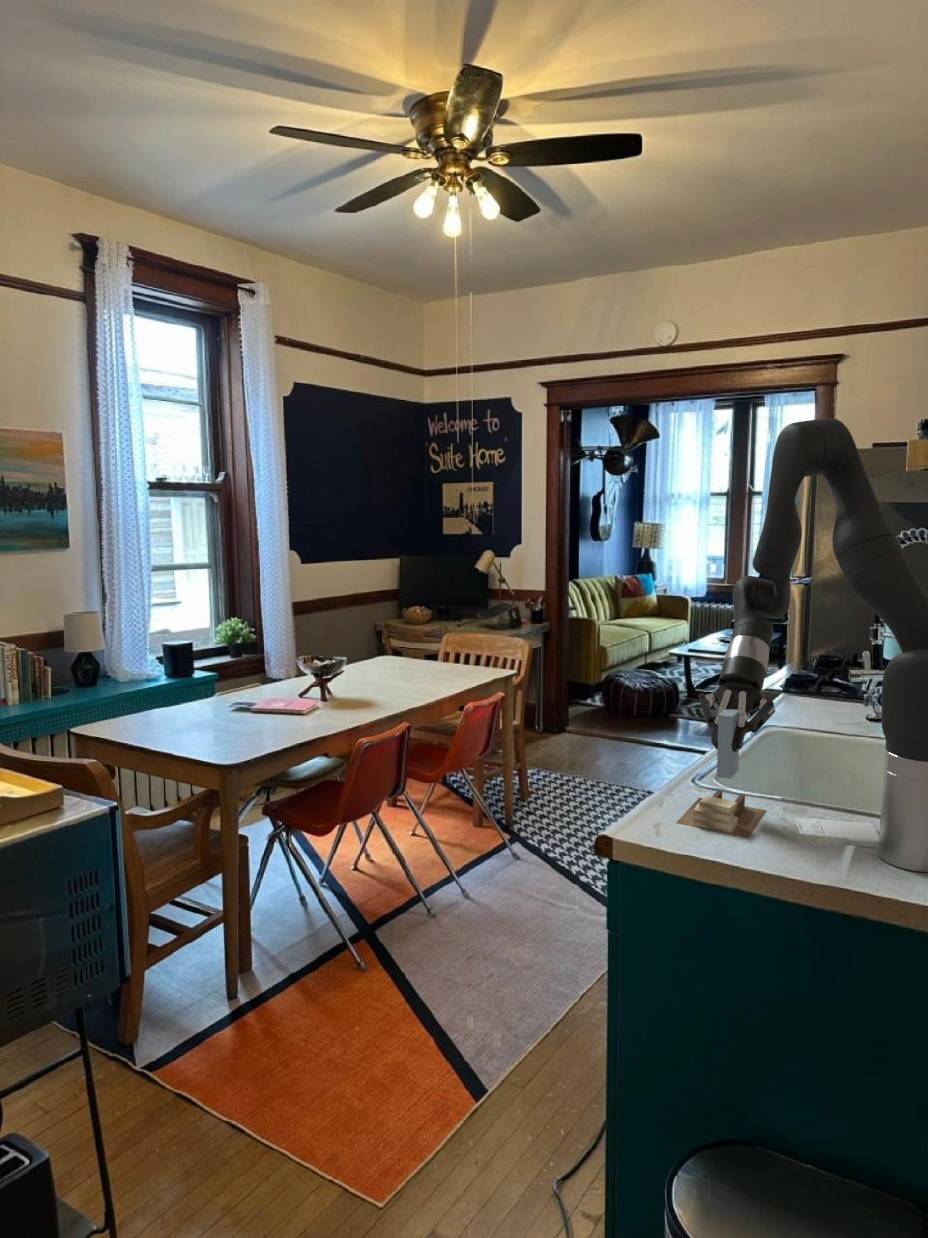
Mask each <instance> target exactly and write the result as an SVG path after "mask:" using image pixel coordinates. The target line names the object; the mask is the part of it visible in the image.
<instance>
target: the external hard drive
mask: <svg viewBox="0 0 928 1238" xmlns="http://www.w3.org/2000/svg"><path fill="white" fill-rule="evenodd" d="M793 818H794V820H795V823H796V825H797V828H798V831H799V833H800V835H809V836H819V837H828V838H839V839H848V840H847V844H846V845H847V846H856V847H867V848H876V849H878V840H879V833H878V831H877V829H876V828H875V827H874V825H873V823H867V822H855V821H844V820H841V821H840V820H833V819H832V820H831V819H830V820H829V819H820V818H804V817H796V816H794V817H793ZM800 825H801V826H800Z"/></svg>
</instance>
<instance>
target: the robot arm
mask: <svg viewBox="0 0 928 1238" xmlns="http://www.w3.org/2000/svg"><path fill="white" fill-rule="evenodd" d="M818 475H823V477H824V478H825V480H826V482H827V483H828V486H829V488H830V491H831V493H832V495H833V497H834V501H835V506H836V507H835V508H836V510H835V519H834V524H833V531H832V532H833V533H832V551H833V554H834V556H835V559H836V562H837V563H838V566H839V567H840V569H841V572H842V573H843V576H844V578H845V580H846V583H847V584H848V586H849V587H850V588H851V590H852V591H853V592H854V594H856V595H857V597H858V598H859V599H860V601H862V602H863V603H864V604H865V605H866V606H867V607H868V608H869V609H870V610H872V612H874V614H876V615H877V616H878V617H879V618H880V620H881V621H882V622H884V623H885V625H886V626H887V627H888V629H889V630H890V631H891V633H892V635H893V636H894V638H895V640H896V642H897V644H898V646H899V649H900V651H901V653H898V654H897V655H895V656H893V657H892V659H890V661H889V662H888V664H887V665H886V667H885V669H884V673H883V677H882V684H881V685H882V687H881V715H880V716H881V719H880V720H881V729H882V732H883V735H884V738H885V751H884V763H883V765H884V766H883V776H882V777H883V778H882V790H881V791H882V792H881V793H882V794H881V805H880V817H879V819H880V820H879V833H878V834H879V840H878V848H877V851H878V852H877V854H878V856H879V858H880V859H881V860H883V861H884V862H886V863H888V864H890V865H892V866H895V867H898V868H900V869H904V870H907V871H913V872H921V873H922V872H924V873H928V598H927V596H926V593H925V592H924V589H923V588H922V586H921V584H920V583H919V580H918V578H917V576H916V574H915V573H914V570H913V568H912V567H911V565H910V562H909V560H908V558H907V556H906V553H905V551H904V549H903V546H902V545H901V543H900V541H899V539H898V538H897V535H896V534H895V532H894V530H893V528H892V526H891V525H890V523H889V521H888V519H887V517H886V515H885V513H884V511H883V509H882V507H881V505H880V502H879V500H878V498H877V496H876V494H875V492H874V489H873V487H872V485H871V483H870V480H869V478H868V476H867V472H866V470H865V467H864V464H863V461H862V458H861V456H860V452H859V450H858V447H857V445H856V442H855V441H854V437H853V435H852V434H851V432H850V430H849V428H848V427H847V426H846V424H844V423H843V422H842V421H841V420H839V419H837V418H832V417H825V418H824V417H823V418H818V419H810V420H802V421H795V422H792V423H789V424H787V425H786V426H784V428H783V429H782V430H781V431H780V432H779V434H778V435H777V439H776V442H775V445H774V450H773V455H772V462H771V470H770V478H769V485H768V491H767V492H768V494H767V495H768V496H767V502H766V510H765V511H766V512H765V517H764V521H763V526H762V530H761V533H760V536H759V539H758V543H757V545H756V549H755V551H754V554H753V555H754V556H753V560H752V567H753V570H754V571H755V572H757V574H759V575H761V576H762V577H764V578H761V577H760V578H759V577H757V576H752V575H744V576H742V577H741V578H739V579H738V580H737V581H736V583H734V585H733V588H732V606H733V612H734V613H733V614H734V617H733V618H734V623H733V629H732V633H731V637H730V640H729V641H730V642H729V645H728V647H727V648H726V652H725V655H724V659H723V663H722V667H721V671H720V675H719V679H718V683H717V686H716V688H714V689H713V691H712V693H709V694H705V693H704V692H700V693H699V694H698V696H697V697H698V699H699V703H700V706H701V708H702V712H703V716H704V719H705V721H706V725H707V727H709V728H713V729H712V734H711V738H710V740H711V744H712V746H714V749H715V750H718V715H719V714H720V713H721V712H722V711H723V710H726V709H735V710H738V723H737V725H738V726H737V728H735V733H734V737H733V741H732V744H731V747H732V750H733V751H734V752H737V751H738V749H739V750H741V749H742V748H743V745H744V741H745V736H746V734H747V733H753V734H756V733H757V732H758V731H759V730H760V729H761V728H762V727H763V726H764V725H765V724H766V722H768V721H769V719H770V718H771V717H772V716H774V714H775V712H776V707H775V703H774V701H773V700H771V699H770V700H766V699H765V698H764V697H763V694H762V692H763V687H764V682H765V679H766V678H765V677H766V675H767V674H766V673H767V672H768V667H769V660H770V659H769V658H770V655H769V654H770V650H771V649H770V648H771V644H772V639H773V636H774V626H773V623H772V622H771V621H770V619H773V620H776V619H781V618H782V617H783V616H785V614H786V613H787V612H788V610H789V609H790V605H791V574H792V570H793V567H794V564H795V561H796V557H797V554H798V552H799V549H800V545H801V543H802V536H803V532H802V530H803V529H802V524H801V520H800V517H799V513H798V509H797V502H796V501H797V495H798V491H799V488H800V487H801V484H802V482H803V480H804V479H805V477H811V476H813V477H814V476H818ZM765 578H766V579H765ZM714 701H715V702H716V704H717V706H718V709H717V715H716V716H715V717H714V716H713V715H712V711H711V709H710V708H711V707H712V706H713V702H714ZM757 708H759V709H758V711H757V712H756V713H755V714H754V715H753V717H752V718H751V719H749V714H751V713H752V712H753V711H754V710H756V709H757Z"/></svg>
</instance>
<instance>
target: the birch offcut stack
mask: <svg viewBox="0 0 928 1238" xmlns="http://www.w3.org/2000/svg"><path fill="white" fill-rule="evenodd" d="M702 798H703V799H702V800H700V801H699V803H698V804H697V805H696V807H695V809H694V810H693V825H694V826H699V827H703V828H708V829H713V830H718V831H723V832H728V833H732V832H733V831H734V829H735V828H736V826H737V823H738V817H734V812H735V811H736V810H737V802H735V801H733V800H729V799H724V798H722V799H720V798H716V797H712V796H710V795H706V796H704V797H702Z"/></svg>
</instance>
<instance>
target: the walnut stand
mask: <svg viewBox="0 0 928 1238" xmlns="http://www.w3.org/2000/svg"><path fill="white" fill-rule="evenodd" d="M711 797H716V798H720V799H723V790H718V789H717V790H716V791H715V792H714V793H713V795H712V796H711ZM703 798H704V797H698V798H697V799H696V801H695V802H694V803H693V804H691V806H690V807H689V808H688V809H687V810H686V811H685V812H684V814H682V816H680V818H679V819H678V820H677V821H676V822H675V823H676V824H678V825H679V824H680V825H684V826H689V827H692V828H693V827H694V828H698V829H702V830H709V831H713V832H717V833H723V834H728V835H731V836H732V835H733V836H737V837H740V838H741V837H742V838H745V839H749V838H750V836H751V835H752V834H753V832H754V831H755V829H756V827H757V826H758V825H759V823H760V822H761V820H762V818H763V817H764V816H765V814H766V812H767V809H762V808H756V807H750V806H746V805H745V803H746V794H742V793H740V794H739V795H738V797H737V798H736V799H735V801H734V802H737V810H736V811H735V812H734V817H738V823H737V826H736V828H735V829H734V831H733V832H732V833H728V832H723V831H718V830H713V829H708V828H703V827H699V826H694V825H693V810H694V809H695V807H696V805H697V804H698V803H699V801H700V800H702V799H703Z"/></svg>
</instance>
